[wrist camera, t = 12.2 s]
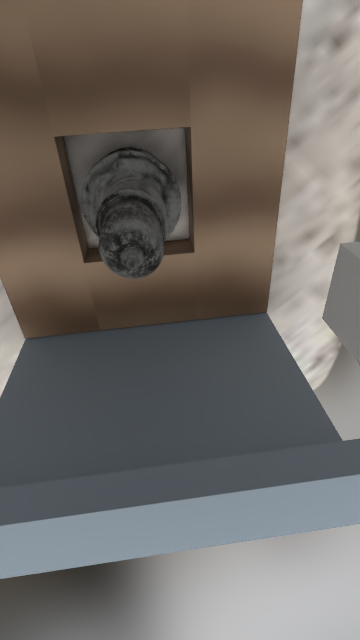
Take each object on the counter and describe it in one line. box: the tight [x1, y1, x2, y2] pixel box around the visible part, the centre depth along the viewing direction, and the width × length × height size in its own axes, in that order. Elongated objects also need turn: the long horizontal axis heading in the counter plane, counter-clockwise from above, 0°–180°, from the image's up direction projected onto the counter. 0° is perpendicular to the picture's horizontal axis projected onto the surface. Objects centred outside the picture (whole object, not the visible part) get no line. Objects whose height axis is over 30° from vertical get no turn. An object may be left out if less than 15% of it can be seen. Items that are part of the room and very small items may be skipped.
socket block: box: [0, 0, 303, 339], centre depth 22 cm, size 19×19×2 cm
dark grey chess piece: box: [82, 147, 181, 279], centre depth 18 cm, size 6×6×12 cm
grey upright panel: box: [0, 312, 360, 579], centre depth 21 cm, size 4×20×18 cm, turn 93°
